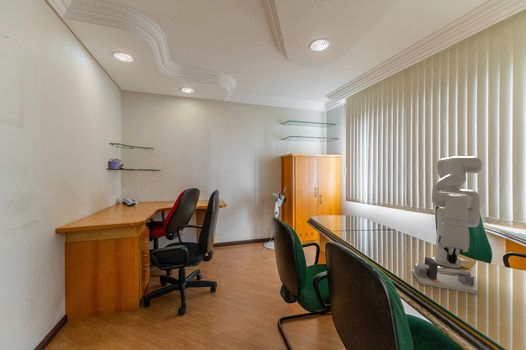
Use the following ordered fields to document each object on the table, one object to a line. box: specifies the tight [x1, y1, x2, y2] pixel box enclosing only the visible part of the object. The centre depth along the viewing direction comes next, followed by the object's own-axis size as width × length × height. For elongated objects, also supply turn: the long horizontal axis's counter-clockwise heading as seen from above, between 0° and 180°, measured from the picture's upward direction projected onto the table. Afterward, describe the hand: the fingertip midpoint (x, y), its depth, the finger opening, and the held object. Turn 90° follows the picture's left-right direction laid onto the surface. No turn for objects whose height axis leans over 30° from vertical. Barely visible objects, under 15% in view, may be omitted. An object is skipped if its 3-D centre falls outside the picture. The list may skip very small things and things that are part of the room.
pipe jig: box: [411, 262, 479, 295], centre depth 98 cm, size 20×12×7 cm, turn 73°
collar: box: [423, 256, 439, 280], centre depth 99 cm, size 2×7×7 cm, turn 163°
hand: (451, 262), depth 97 cm, fingers closed
